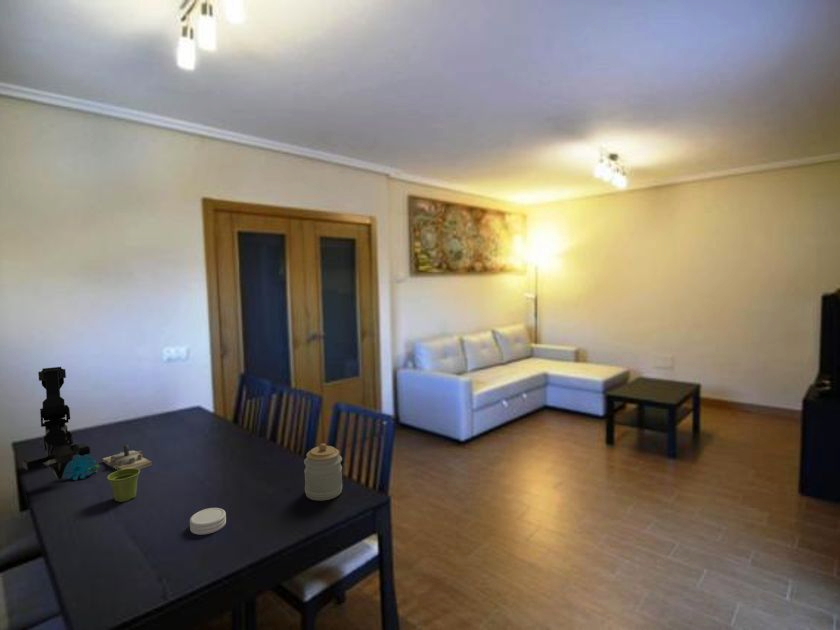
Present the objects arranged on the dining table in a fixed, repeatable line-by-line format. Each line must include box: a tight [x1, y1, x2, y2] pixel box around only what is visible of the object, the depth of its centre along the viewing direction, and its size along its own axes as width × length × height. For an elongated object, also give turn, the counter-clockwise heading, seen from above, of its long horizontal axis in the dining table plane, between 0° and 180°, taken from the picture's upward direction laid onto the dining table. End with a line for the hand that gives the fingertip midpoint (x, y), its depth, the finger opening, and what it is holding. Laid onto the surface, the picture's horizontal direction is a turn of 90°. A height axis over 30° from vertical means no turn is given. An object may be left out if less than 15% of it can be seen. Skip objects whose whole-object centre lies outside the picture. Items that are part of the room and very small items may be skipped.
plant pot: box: [106, 468, 141, 503], centre depth 155 cm, size 9×9×9 cm
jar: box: [303, 443, 343, 502], centre depth 159 cm, size 13×13×18 cm
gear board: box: [102, 444, 153, 471], centre depth 184 cm, size 20×11×8 cm, turn 55°
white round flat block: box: [189, 507, 227, 536], centre depth 138 cm, size 10×10×4 cm
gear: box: [63, 454, 100, 481], centre depth 174 cm, size 11×6×10 cm
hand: (59, 479), depth 166 cm, fingers closed
